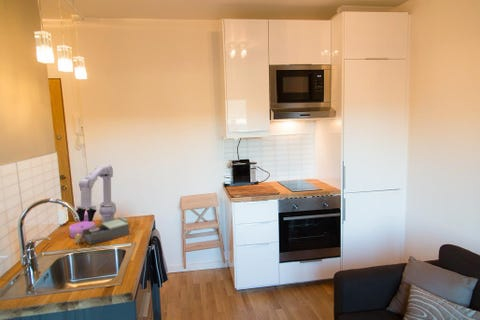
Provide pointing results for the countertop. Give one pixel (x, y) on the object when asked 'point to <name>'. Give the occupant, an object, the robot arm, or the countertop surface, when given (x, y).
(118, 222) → the lid
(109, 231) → the housing
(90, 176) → the robot arm
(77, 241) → the peg
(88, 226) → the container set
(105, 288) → the countertop surface
